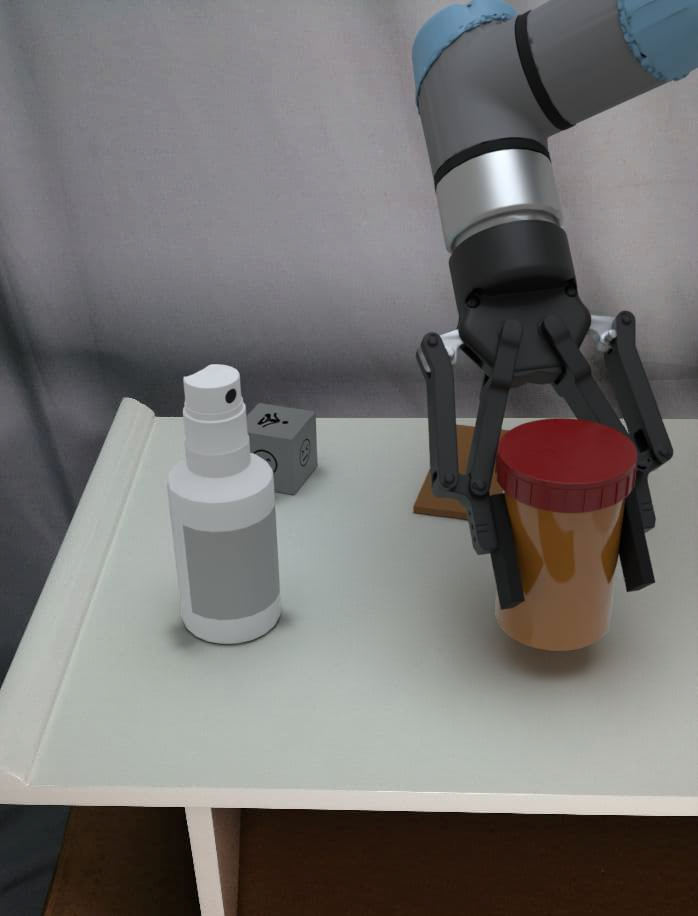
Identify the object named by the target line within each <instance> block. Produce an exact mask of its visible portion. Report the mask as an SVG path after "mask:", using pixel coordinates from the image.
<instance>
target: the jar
mask: <svg viewBox="0 0 698 916" xmlns="http://www.w3.org/2000/svg"><path fill="white" fill-rule="evenodd" d="M502 493H504V494H505V500H506V505H507V510H508V515H509V520H510V525H511V531H512V536H513V541H514V546H515V551H516V557H517V562H518V567H519V572H520V577H521V583H522V588H523V593H524V598H525V601H524V602H522V603H520V604H519V605H517V606H516V607H514V608H510V609H503V610H501V608H500V603H499V597H498V592H497V587H496V586H495V587H496V588H495V604H494V605H495V607H494V617H495V619H496V622H497V624H498V626H499V627H500V629H501V630H502V631H503V632H504V633H505V634H506V635H507V636H509V638H512V639H513V640H514V641H516V642H519V643H520V644H523V645H525V646H528V647H530V648H534V649H539V650H543V651H552V652H553V651H554V652H565V651H566V652H567V651H574V650H579V649H583V648H586V647H590V646H592V645H593V644H595V643H597V642H598V641H599V640H601V639H602V638H603V637H604V636H605V635H606V634H607V633H608V631H609V629H610V626H611V622H612V614H613V605H614V596H615V588H616V581H617V572H618V563H619V548H620V540H621V532H622V524H623V515H624V507H625V499H626V498H625V499H623V500H622V501H620V502H619V503H617V504H615V505H612V506H610V507H607V508H604V509H600V510H595V511H589V512H577V513H566V512H555V511H548V510H543V509H539V508H535V507H532V506H529V505H526V504H524V503H521V502H519V501H517V500H515V499H514V498H512V497H511V496H509V495H508V494H507V493H506V492H505V491H503V489H502Z"/></svg>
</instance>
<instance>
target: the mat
mask: <svg viewBox="0 0 698 916" xmlns="http://www.w3.org/2000/svg"><path fill="white" fill-rule="evenodd" d="M474 429H475V425H465V424H456V430H457V449H458V469H459V474H463V475H465V474H466V469H467V464H468V459H469V454H470V449H471V444H472V439H473V434H474ZM509 430H510V429H501V434H500V439H501V438H502V437H503V435H504V434H506V433H507V432H508V431H509ZM500 439H499V441H500ZM497 453H498V450H497ZM495 465H496V460H495ZM495 465H494V470H493V476H492V481H491V486H490V489H489V494H490V496H491V495H493V494H501V493H502V488H501V487H500V485H499V483H498V482H497V475H496V473H495ZM414 501H415V502H414V503H413V506H412V507H413V508H412V512H413V513H416V514H423V515H429V516H430V515H431V516H438V517H444V518H445V517H446V518H452V519H461V520H468V517H467V512H466V508H465V507H463V506H462V505H461V504H460V501H458V500H455V499H451V498H442V499H441V498H437V497H435V496H434V495H433V493H432V491H431V475H430V469H429V470H428V472H427V474H426V477H425V479H424V481H423V483H422V486H421V488H420V490H419V493H418V495H417V497H416V499H415V500H414Z"/></svg>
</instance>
